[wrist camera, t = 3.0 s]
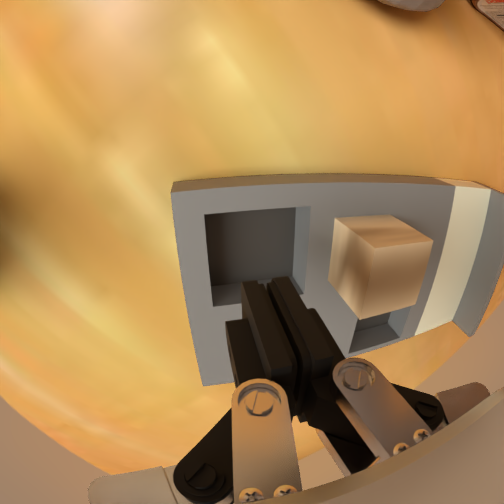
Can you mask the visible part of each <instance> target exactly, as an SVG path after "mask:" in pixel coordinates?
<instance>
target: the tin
mask: <svg viewBox="0 0 504 504" xmlns="http://www.w3.org/2000/svg"><path fill="white" fill-rule="evenodd" d="M471 1H472V3H473V5H474V7H475V8H476V9H477V10H478V11H480V12H481V13H482V14H484V15H485V16H486V17H487V18H489V19H490V20H491V21H492V22H494V23H495V24H496V25H497V26H498V27H500V28H501V29H502V30H503V31H504V0H471Z"/></svg>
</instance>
